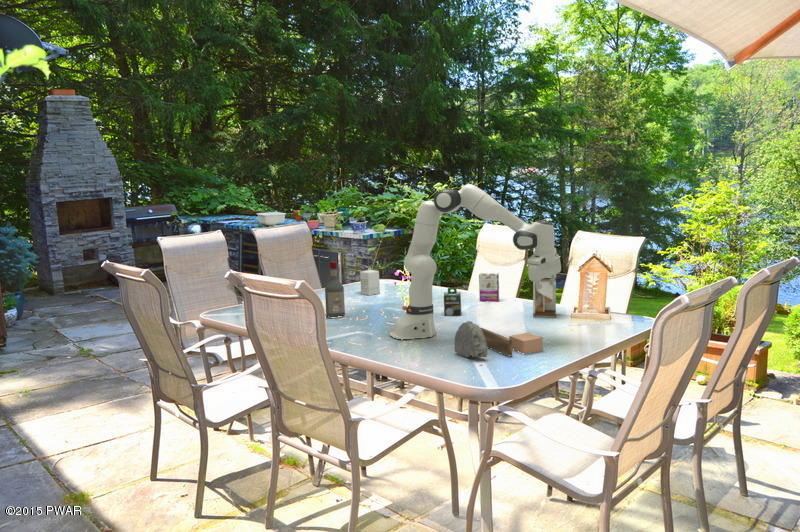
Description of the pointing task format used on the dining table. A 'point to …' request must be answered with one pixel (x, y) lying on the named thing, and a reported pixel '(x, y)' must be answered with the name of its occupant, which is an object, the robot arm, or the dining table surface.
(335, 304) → the liquor
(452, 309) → the chalk box
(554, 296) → the display case
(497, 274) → the candy bar box
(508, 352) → the board
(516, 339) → the block
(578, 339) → the dining table surface
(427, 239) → the robot arm
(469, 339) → the decorative rock
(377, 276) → the supplement box
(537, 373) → the dining table surface
